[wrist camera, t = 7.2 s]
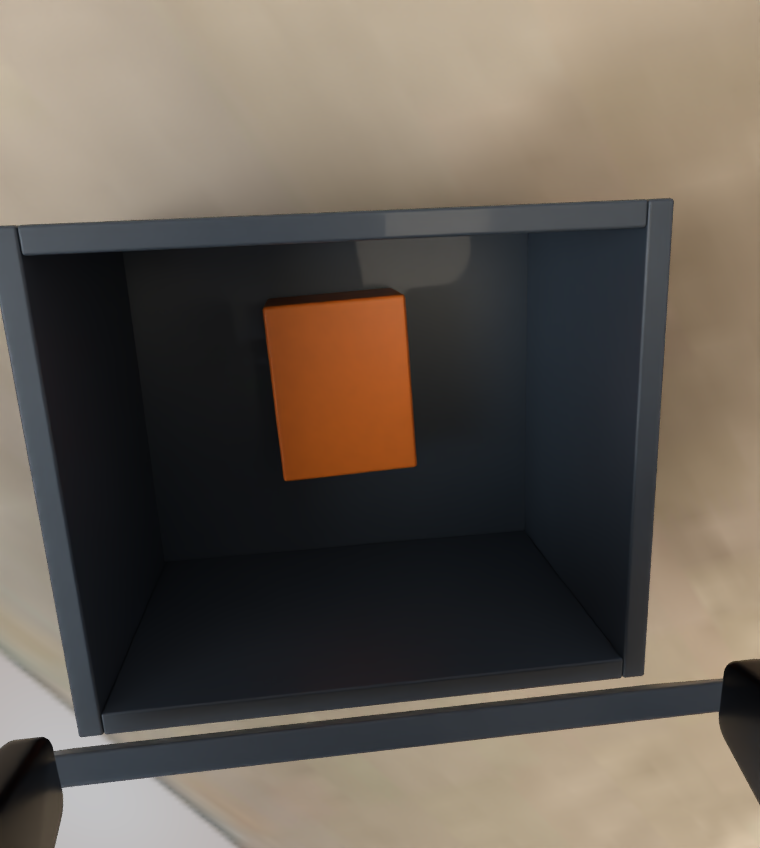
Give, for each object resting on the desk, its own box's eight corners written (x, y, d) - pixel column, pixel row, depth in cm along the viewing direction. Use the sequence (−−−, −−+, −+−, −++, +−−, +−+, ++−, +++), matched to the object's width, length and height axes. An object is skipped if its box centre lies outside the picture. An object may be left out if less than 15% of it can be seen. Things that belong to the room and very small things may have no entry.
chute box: (534, 536, 22) (644, 676, 15) (153, 570, 21) (78, 738, 14) (539, 213, 20) (675, 197, 13) (105, 231, 19) (-16, 226, 12)
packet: (405, 293, 17) (392, 287, 19) (261, 307, 17) (266, 298, 19) (417, 467, 18) (403, 441, 21) (283, 483, 18) (285, 454, 20)
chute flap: (655, 683, 15) (659, 704, 15) (71, 748, 14) (69, 770, 13) (796, 672, 10) (805, 701, 10) (-59, 767, 9) (-63, 802, 9)
